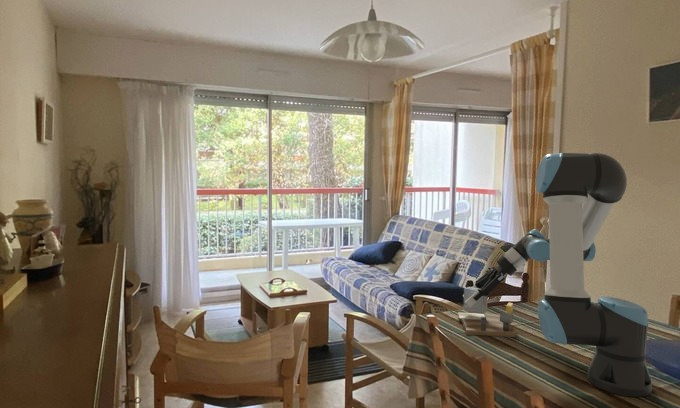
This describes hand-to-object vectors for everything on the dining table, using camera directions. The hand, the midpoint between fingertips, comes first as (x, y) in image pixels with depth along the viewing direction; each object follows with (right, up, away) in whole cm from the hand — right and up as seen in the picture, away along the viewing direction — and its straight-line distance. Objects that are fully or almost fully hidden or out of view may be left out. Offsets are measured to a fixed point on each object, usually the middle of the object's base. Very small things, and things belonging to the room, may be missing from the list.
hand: (466, 301), depth 176 cm
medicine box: (+3, -4, 0) cm, 5 cm away
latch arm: (+12, -7, -11) cm, 18 cm away
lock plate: (+6, -8, -6) cm, 12 cm away
